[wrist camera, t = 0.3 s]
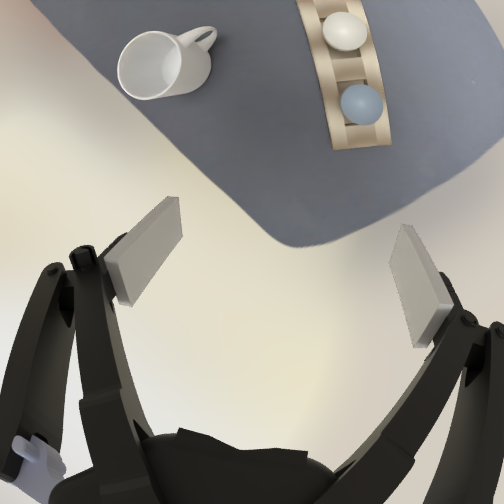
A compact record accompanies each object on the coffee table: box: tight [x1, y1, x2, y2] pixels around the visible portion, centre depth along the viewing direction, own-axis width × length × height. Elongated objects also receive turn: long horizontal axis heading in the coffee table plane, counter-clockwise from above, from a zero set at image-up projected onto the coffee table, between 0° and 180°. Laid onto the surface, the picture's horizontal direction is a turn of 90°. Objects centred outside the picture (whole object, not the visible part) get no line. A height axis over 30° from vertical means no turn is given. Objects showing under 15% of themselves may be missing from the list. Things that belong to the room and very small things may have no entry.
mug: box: [117, 26, 217, 100], centre depth 28 cm, size 9×12×11 cm
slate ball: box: [340, 84, 383, 125], centre depth 27 cm, size 5×5×4 cm
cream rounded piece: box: [322, 12, 367, 52], centre depth 23 cm, size 5×5×4 cm
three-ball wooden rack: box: [295, 0, 391, 150], centre depth 26 cm, size 30×8×3 cm, turn 14°
